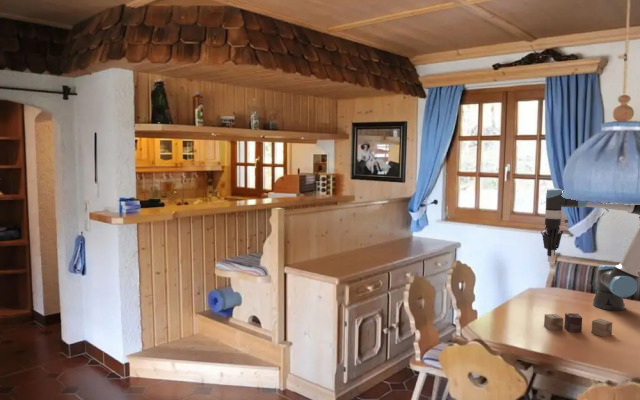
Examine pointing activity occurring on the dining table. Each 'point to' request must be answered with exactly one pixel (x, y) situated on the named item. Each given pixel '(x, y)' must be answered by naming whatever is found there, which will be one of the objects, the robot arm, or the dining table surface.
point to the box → (573, 322)
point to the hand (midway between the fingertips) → (550, 261)
